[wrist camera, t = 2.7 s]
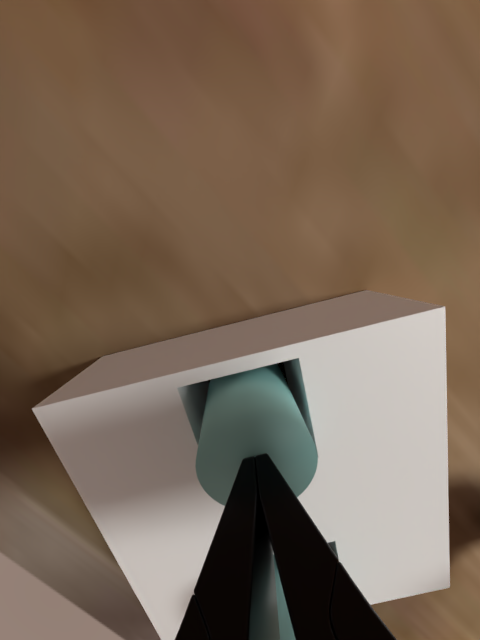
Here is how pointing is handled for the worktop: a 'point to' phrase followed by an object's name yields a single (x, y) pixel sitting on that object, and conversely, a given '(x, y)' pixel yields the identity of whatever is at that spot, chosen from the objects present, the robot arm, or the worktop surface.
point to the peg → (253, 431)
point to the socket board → (320, 418)
